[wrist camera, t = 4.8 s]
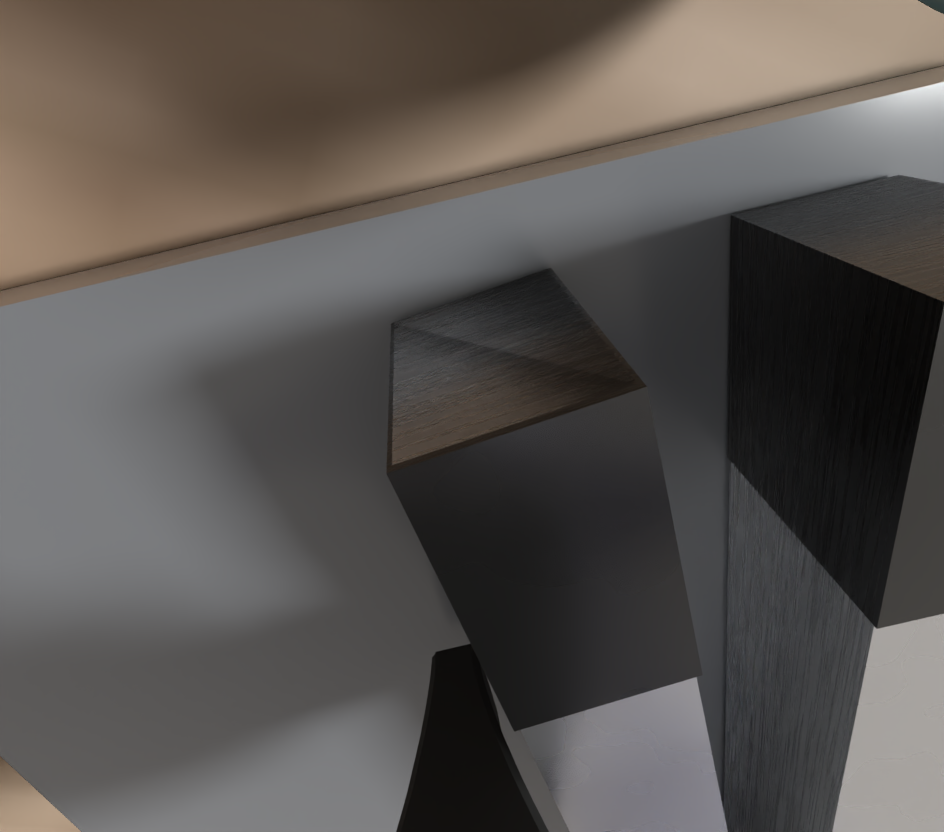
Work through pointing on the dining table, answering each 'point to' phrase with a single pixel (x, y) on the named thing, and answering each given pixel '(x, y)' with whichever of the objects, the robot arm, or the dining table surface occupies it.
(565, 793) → the bar
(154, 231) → the dining table surface
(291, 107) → the dining table surface
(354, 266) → the slate board
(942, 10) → the flower pot
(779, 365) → the tongs fixed
